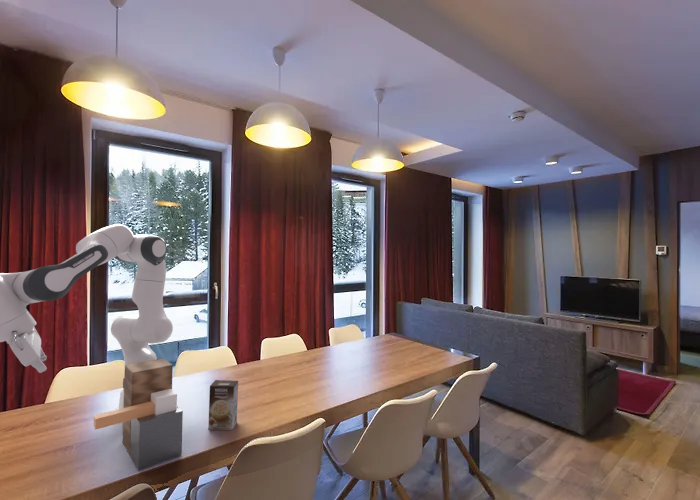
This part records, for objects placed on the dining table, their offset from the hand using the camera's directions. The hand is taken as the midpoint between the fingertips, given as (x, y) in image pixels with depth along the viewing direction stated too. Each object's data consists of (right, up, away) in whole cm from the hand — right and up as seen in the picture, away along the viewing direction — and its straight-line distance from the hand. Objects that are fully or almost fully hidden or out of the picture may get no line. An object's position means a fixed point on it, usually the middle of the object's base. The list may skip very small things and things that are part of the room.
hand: (43, 365), depth 102 cm
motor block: (+29, -31, +7) cm, 43 cm away
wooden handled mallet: (+26, -17, +3) cm, 31 cm away
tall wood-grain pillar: (+22, -31, +15) cm, 41 cm away
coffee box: (+43, -32, +27) cm, 60 cm away
